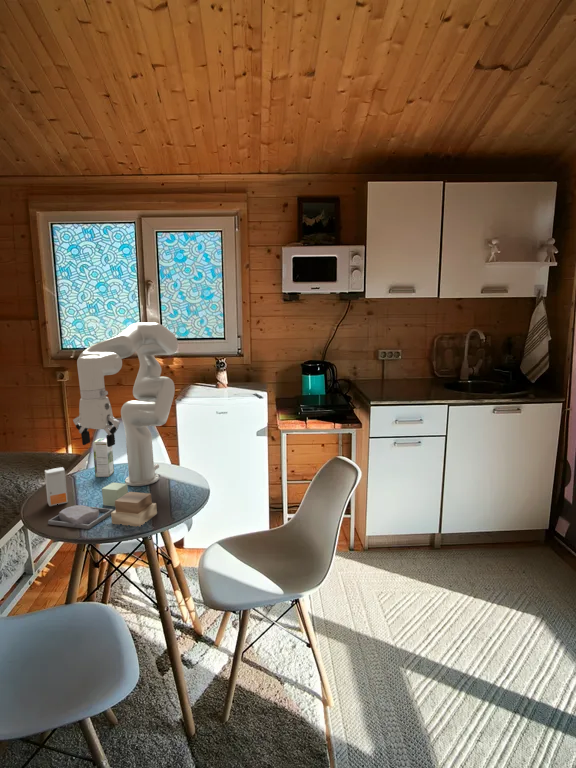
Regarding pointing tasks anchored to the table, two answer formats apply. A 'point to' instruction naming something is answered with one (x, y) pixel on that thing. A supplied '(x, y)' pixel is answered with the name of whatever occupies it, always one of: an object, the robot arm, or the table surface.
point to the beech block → (134, 516)
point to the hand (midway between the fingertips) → (98, 444)
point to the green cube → (113, 493)
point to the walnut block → (133, 502)
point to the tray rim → (84, 526)
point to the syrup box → (103, 458)
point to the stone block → (78, 515)
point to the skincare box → (56, 486)
